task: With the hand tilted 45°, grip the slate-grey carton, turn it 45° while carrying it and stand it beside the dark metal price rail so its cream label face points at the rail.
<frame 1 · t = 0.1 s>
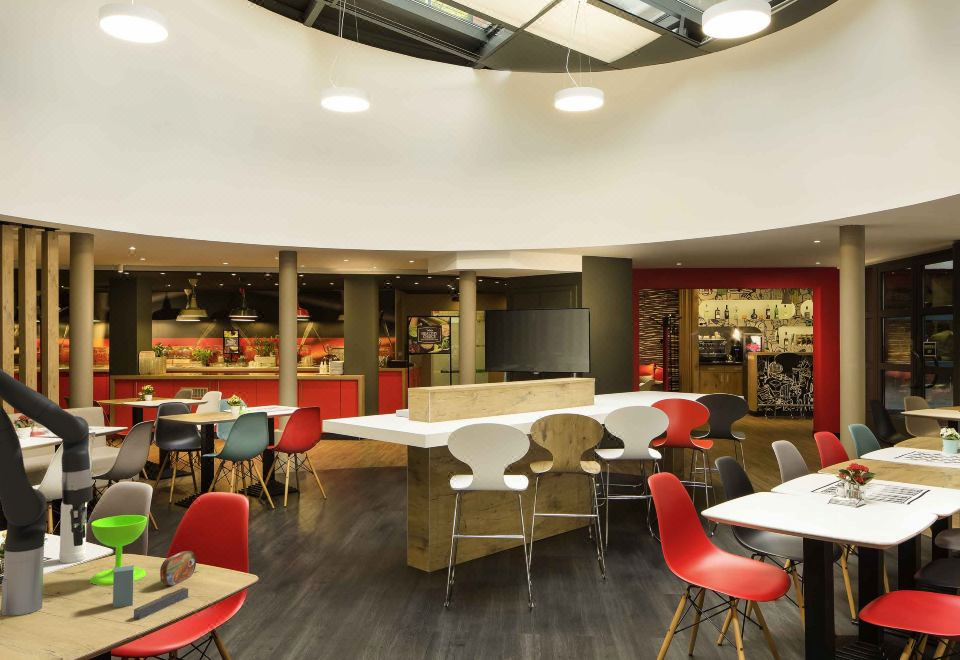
hand: (79, 541, 196), 17 cm above the table, tool pointing down, fingers open, 8 cm apart
tin: (177, 581, 214), on the table
carton: (122, 604, 194), on the table
wineglass: (118, 578, 217), on the table
bottle: (72, 560, 235), on the table
price rail: (162, 607, 191), on the table
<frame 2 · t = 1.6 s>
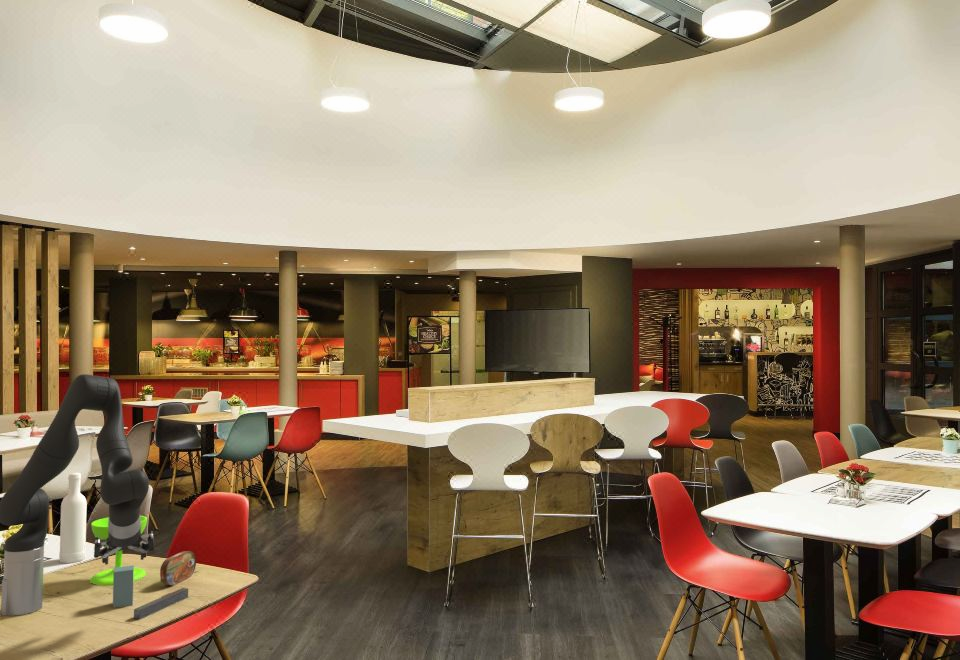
hand: (124, 559, 184), 16 cm above the table, tool tilted 45°, fingers open, 8 cm apart
nothing on the table moved.
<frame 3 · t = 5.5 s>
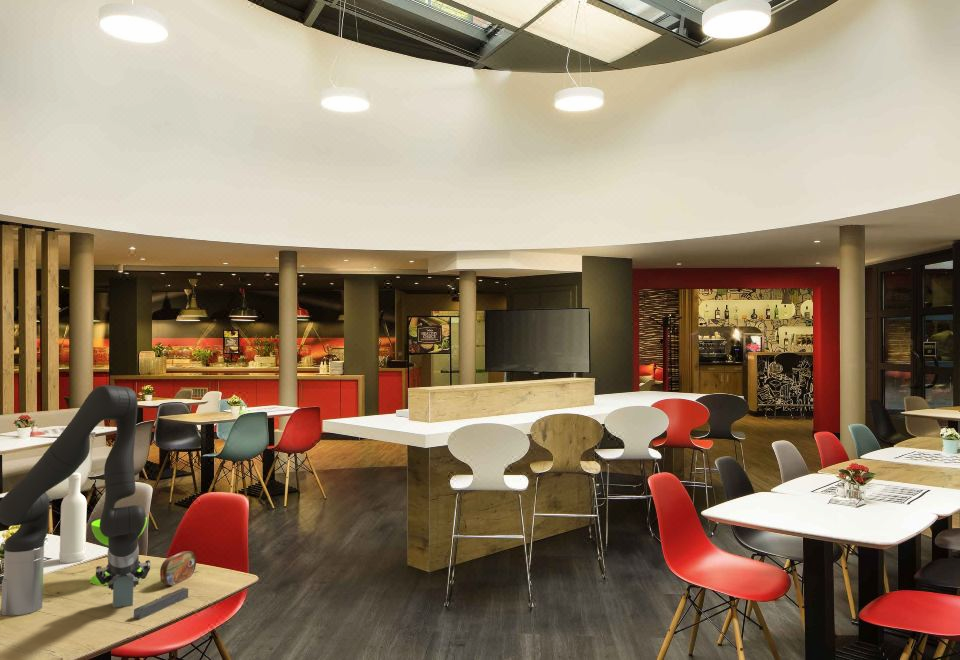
hand: (123, 585, 196), 5 cm above the table, tool tilted 45°, fingers closed on carton, 5 cm apart
carton: (123, 603, 194), on the table, touching gripper
everything else where it was.
when the fingers open (6 cm above the table, at t = 11.7 s): carton stays where it is, on the table.
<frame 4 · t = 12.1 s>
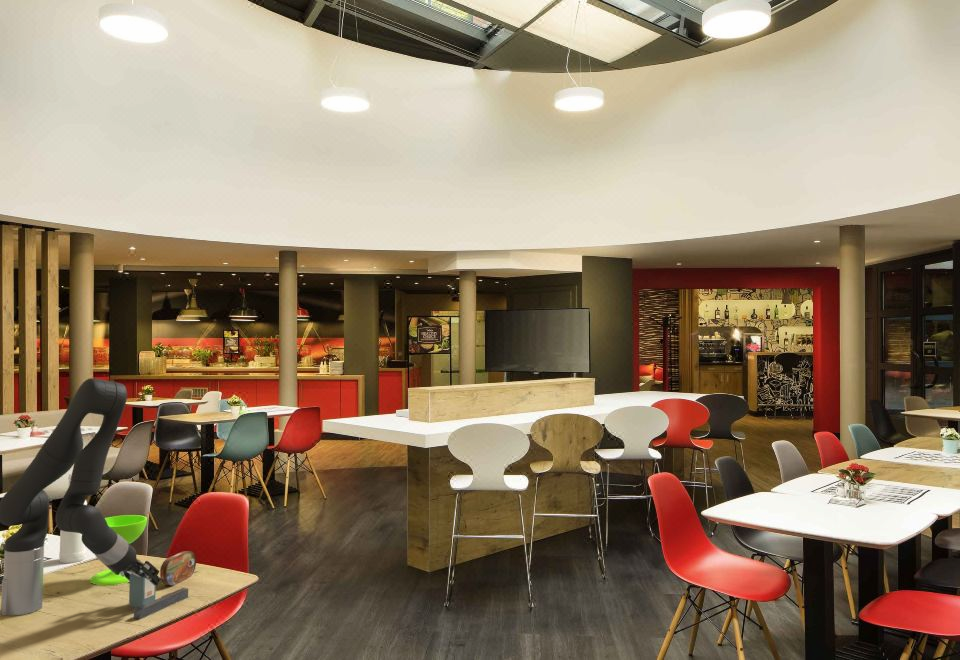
hand: (146, 581, 195), 6 cm above the table, tool tilted 45°, fingers open, 8 cm apart
carton: (142, 604, 193), on the table
everything else where it was.
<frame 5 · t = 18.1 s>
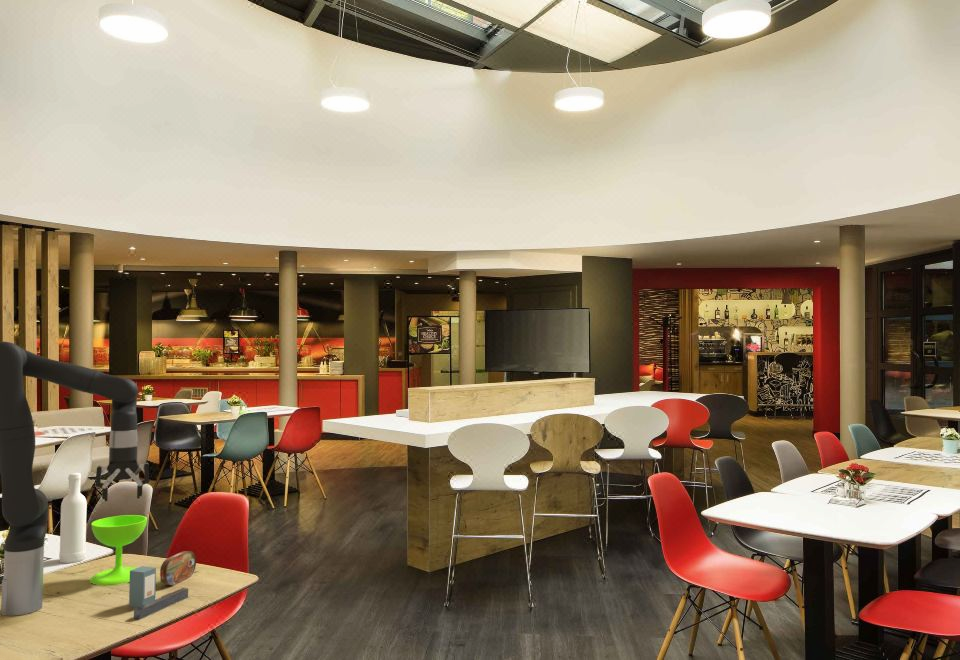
hand: (122, 499, 203), 28 cm above the table, tool pointing down, fingers open, 8 cm apart
nothing on the table moved.
at the end: carton 0.0 cm from the target spot, on the table; carton tilted 0°; the gripper is holding nothing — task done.
